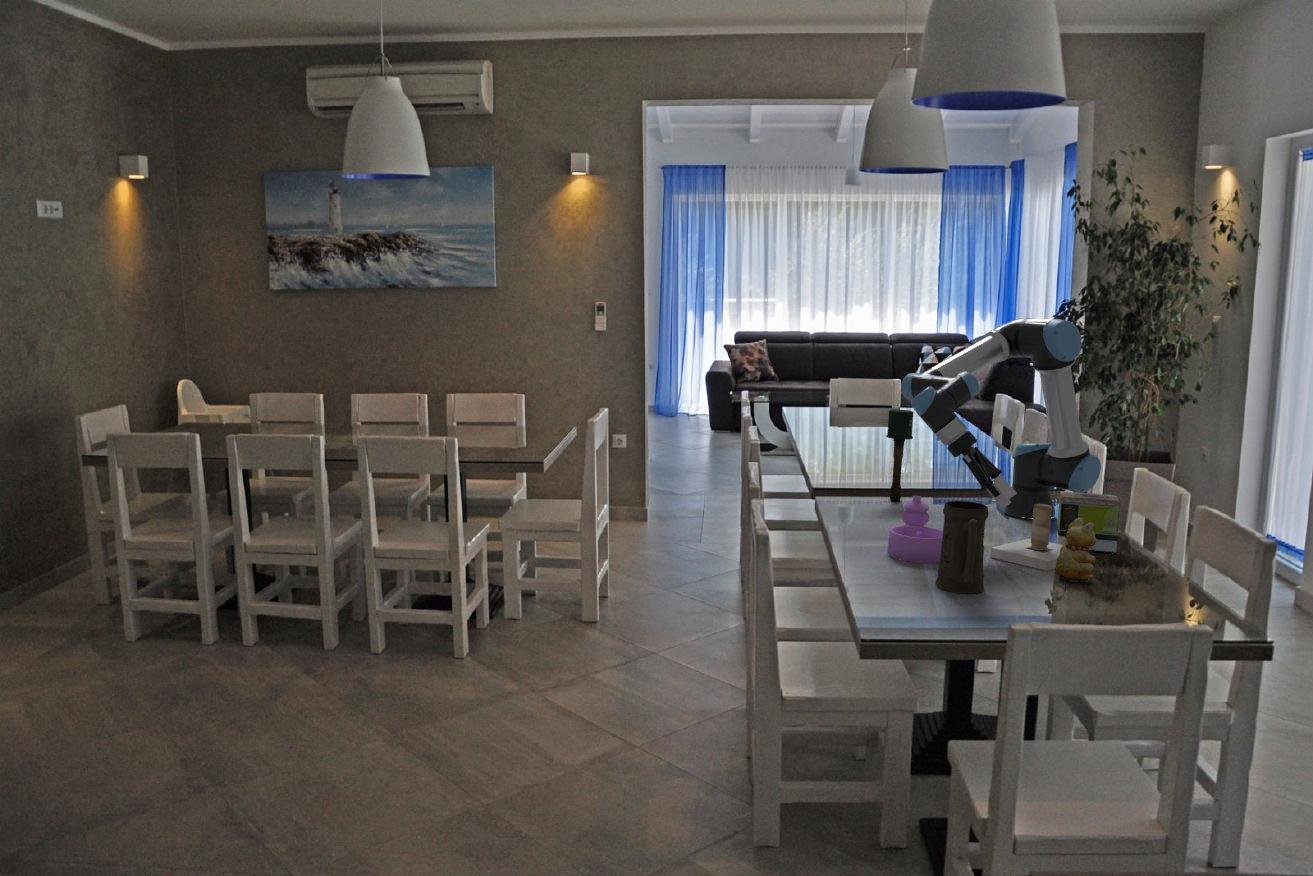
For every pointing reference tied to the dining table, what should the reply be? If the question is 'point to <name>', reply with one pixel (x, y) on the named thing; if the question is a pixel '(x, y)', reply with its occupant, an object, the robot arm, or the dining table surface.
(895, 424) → the stick grenade
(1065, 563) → the decorative figurine
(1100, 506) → the tea box
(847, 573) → the dining table surface
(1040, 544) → the oak peg
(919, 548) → the container set
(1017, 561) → the hole board
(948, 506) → the beer stein
